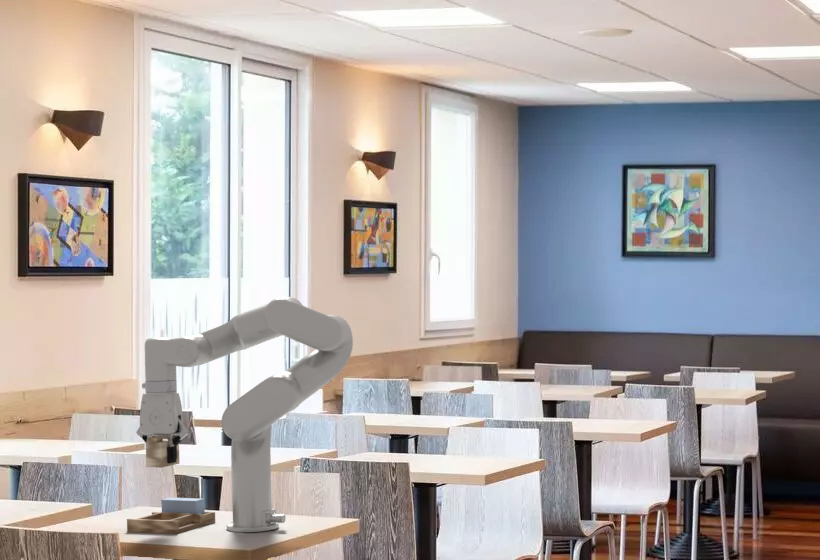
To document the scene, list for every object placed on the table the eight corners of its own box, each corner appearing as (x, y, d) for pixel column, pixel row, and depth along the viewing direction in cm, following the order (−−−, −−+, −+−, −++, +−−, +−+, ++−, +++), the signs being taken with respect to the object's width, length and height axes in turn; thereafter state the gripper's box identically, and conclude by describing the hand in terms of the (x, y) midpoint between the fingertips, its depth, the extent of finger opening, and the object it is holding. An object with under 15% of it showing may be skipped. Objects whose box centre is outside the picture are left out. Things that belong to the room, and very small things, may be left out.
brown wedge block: (179, 463, 354) (178, 434, 354) (160, 467, 346) (159, 438, 346) (164, 463, 356) (163, 434, 356) (144, 467, 348) (143, 437, 348)
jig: (215, 522, 360) (215, 510, 360) (176, 533, 343) (176, 521, 343) (167, 520, 365) (167, 508, 365) (127, 531, 349) (126, 519, 349)
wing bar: (204, 518, 359) (204, 498, 359) (196, 521, 356) (195, 501, 356) (170, 517, 363) (170, 497, 363) (161, 519, 359) (161, 499, 360)
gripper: (123, 388, 351) (125, 463, 351) (182, 389, 345) (184, 465, 345) (140, 386, 358) (142, 460, 358) (198, 386, 352) (200, 461, 352)
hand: (163, 461), depth 352 cm, fingers closed on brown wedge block, 4 cm apart
